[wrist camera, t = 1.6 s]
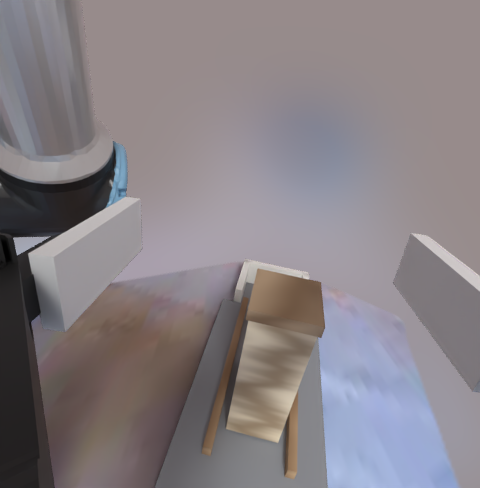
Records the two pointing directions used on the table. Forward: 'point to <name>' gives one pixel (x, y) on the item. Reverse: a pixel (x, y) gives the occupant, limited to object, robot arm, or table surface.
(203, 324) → the table surface
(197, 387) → the platform
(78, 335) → the table surface
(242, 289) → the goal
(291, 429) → the lane rails
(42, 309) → the robot arm
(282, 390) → the tan tall block
